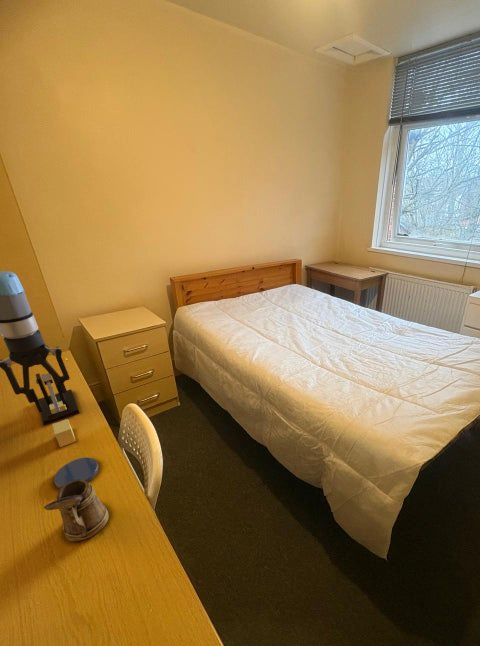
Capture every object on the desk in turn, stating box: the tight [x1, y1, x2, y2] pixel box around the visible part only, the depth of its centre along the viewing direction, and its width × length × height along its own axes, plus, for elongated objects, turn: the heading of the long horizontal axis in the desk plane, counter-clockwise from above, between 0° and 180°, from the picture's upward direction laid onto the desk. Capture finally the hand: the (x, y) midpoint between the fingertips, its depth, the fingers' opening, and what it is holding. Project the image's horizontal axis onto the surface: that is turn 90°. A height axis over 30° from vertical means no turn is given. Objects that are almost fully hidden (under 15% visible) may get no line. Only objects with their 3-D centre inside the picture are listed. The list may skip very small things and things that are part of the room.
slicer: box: [35, 373, 80, 426], centre depth 110 cm, size 16×10×14 cm, turn 40°
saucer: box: [53, 457, 100, 490], centre depth 87 cm, size 10×10×1 cm
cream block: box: [49, 401, 67, 414], centre depth 107 cm, size 4×4×3 cm
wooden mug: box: [43, 479, 110, 542], centre depth 69 cm, size 9×14×18 cm, turn 27°
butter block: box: [51, 418, 77, 448], centre depth 98 cm, size 4×6×5 cm, turn 40°
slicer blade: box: [40, 372, 71, 420], centre depth 105 cm, size 16×6×2 cm
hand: (52, 405), depth 93 cm, fingers open, 5 cm apart
